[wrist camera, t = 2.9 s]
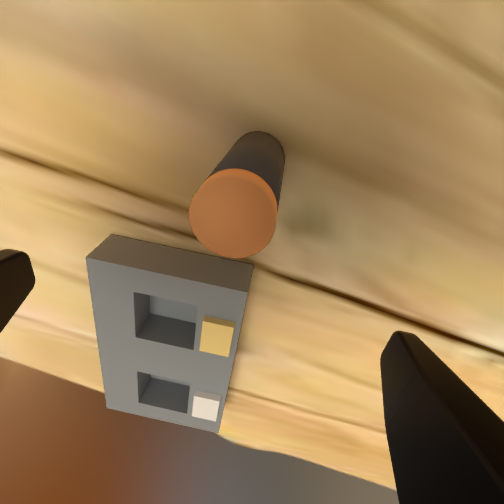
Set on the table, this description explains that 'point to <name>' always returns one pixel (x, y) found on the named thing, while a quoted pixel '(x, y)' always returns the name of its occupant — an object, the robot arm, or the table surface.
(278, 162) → the plug
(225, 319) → the port block
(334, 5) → the table surface
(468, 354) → the table surface
